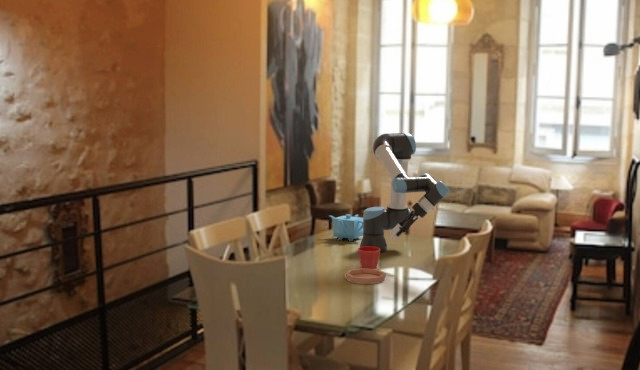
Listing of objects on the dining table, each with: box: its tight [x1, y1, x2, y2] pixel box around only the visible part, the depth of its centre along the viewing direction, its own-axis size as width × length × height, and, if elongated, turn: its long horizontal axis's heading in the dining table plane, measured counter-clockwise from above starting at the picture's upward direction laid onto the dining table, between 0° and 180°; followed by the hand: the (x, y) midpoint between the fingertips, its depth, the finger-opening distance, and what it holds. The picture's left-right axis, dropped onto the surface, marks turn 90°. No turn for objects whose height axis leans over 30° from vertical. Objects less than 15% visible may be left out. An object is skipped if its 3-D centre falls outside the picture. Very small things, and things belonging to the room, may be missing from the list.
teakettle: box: [329, 213, 363, 242], centre depth 405 cm, size 19×19×15 cm
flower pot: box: [357, 246, 381, 269], centre depth 337 cm, size 11×11×10 cm
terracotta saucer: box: [344, 267, 387, 285], centre depth 316 cm, size 18×18×3 cm
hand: (391, 237), depth 334 cm, fingers open, 13 cm apart
